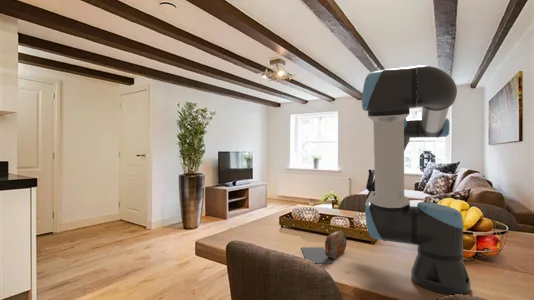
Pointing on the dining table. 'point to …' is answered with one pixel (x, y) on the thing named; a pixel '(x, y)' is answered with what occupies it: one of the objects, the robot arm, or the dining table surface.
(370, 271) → the dining table surface
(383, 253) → the dining table surface
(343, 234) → the tin
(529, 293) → the dining table surface
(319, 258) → the mat
